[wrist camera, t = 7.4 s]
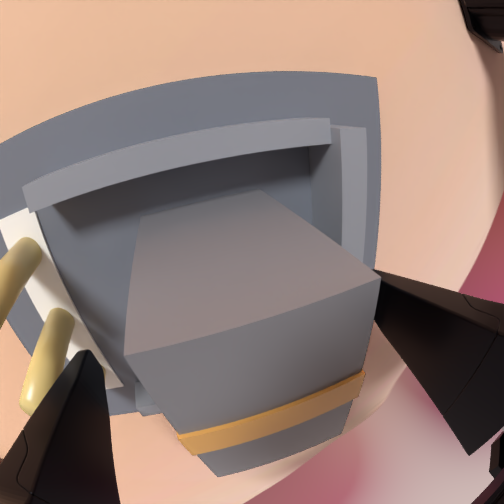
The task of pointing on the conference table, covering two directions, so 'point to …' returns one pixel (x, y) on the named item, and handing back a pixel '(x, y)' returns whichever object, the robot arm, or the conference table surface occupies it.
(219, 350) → the plug
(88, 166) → the header socket
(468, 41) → the conference table surface
